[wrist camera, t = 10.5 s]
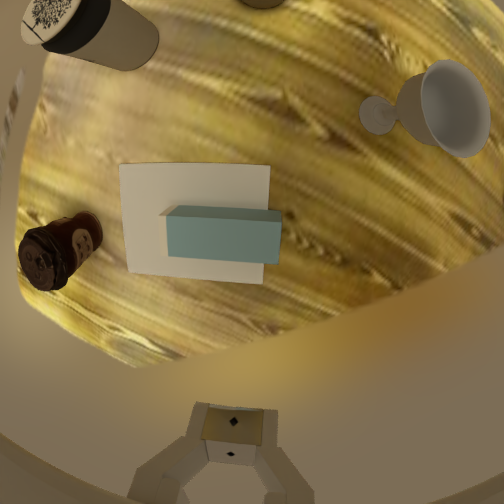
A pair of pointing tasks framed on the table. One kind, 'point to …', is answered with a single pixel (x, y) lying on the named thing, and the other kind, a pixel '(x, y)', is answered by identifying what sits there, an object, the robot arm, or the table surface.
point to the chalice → (436, 109)
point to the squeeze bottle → (263, 3)
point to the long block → (220, 233)
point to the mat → (191, 194)
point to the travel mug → (91, 31)
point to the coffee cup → (58, 249)
